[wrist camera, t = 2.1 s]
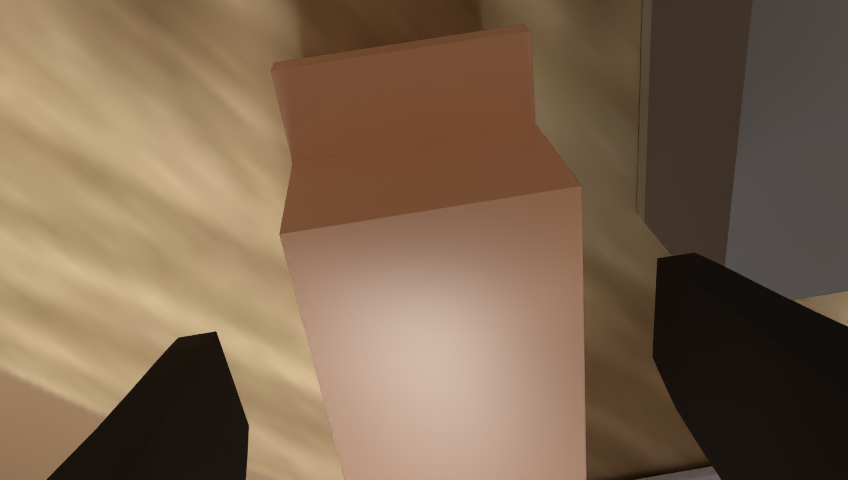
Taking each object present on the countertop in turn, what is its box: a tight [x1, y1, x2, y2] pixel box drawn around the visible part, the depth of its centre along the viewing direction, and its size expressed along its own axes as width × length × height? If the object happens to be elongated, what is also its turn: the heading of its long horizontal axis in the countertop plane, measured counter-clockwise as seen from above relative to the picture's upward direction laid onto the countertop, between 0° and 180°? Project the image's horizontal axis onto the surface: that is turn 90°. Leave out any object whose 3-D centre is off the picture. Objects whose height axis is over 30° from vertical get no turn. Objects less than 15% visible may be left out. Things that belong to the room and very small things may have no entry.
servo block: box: [271, 24, 586, 480], centre depth 13 cm, size 9×4×7 cm, turn 7°
